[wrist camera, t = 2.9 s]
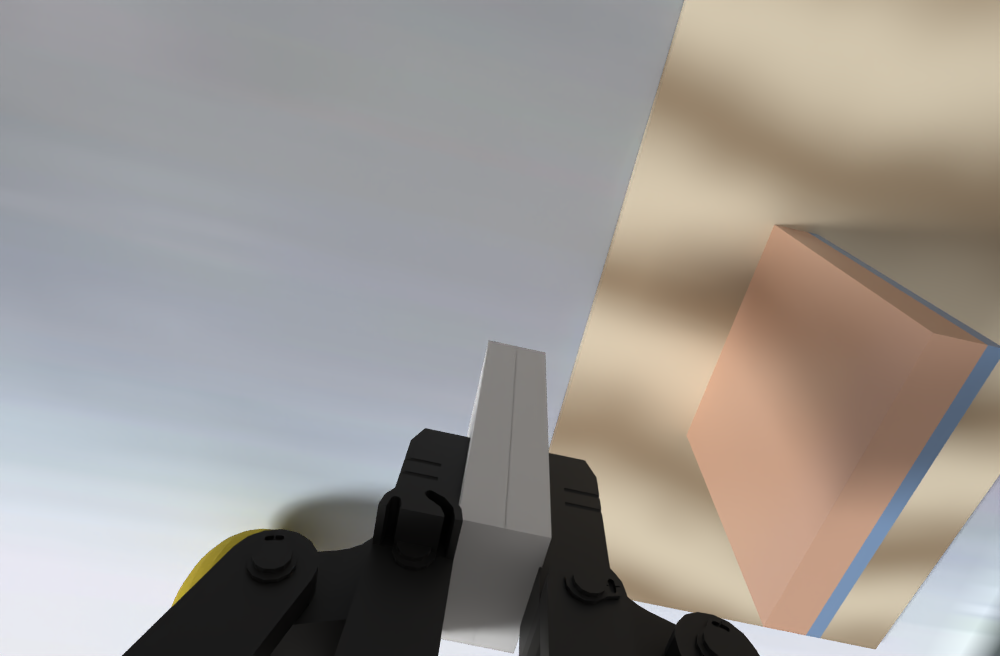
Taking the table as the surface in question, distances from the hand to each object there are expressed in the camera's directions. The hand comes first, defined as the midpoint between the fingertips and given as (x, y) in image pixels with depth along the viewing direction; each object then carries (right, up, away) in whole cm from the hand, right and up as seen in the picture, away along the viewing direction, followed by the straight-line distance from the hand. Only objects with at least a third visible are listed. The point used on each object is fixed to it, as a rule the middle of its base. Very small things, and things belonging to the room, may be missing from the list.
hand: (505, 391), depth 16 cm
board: (+12, +1, +7) cm, 14 cm away
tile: (+9, +1, +7) cm, 11 cm away
